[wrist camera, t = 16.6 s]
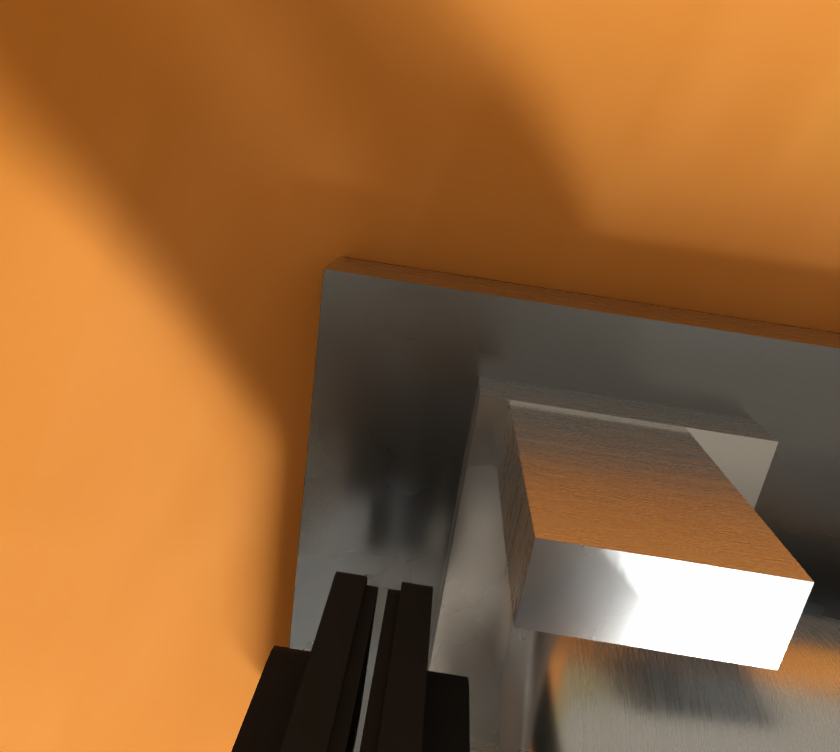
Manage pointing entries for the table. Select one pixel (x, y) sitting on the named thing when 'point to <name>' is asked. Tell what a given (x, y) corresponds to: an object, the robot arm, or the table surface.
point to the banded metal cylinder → (668, 697)
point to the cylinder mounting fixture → (567, 471)
